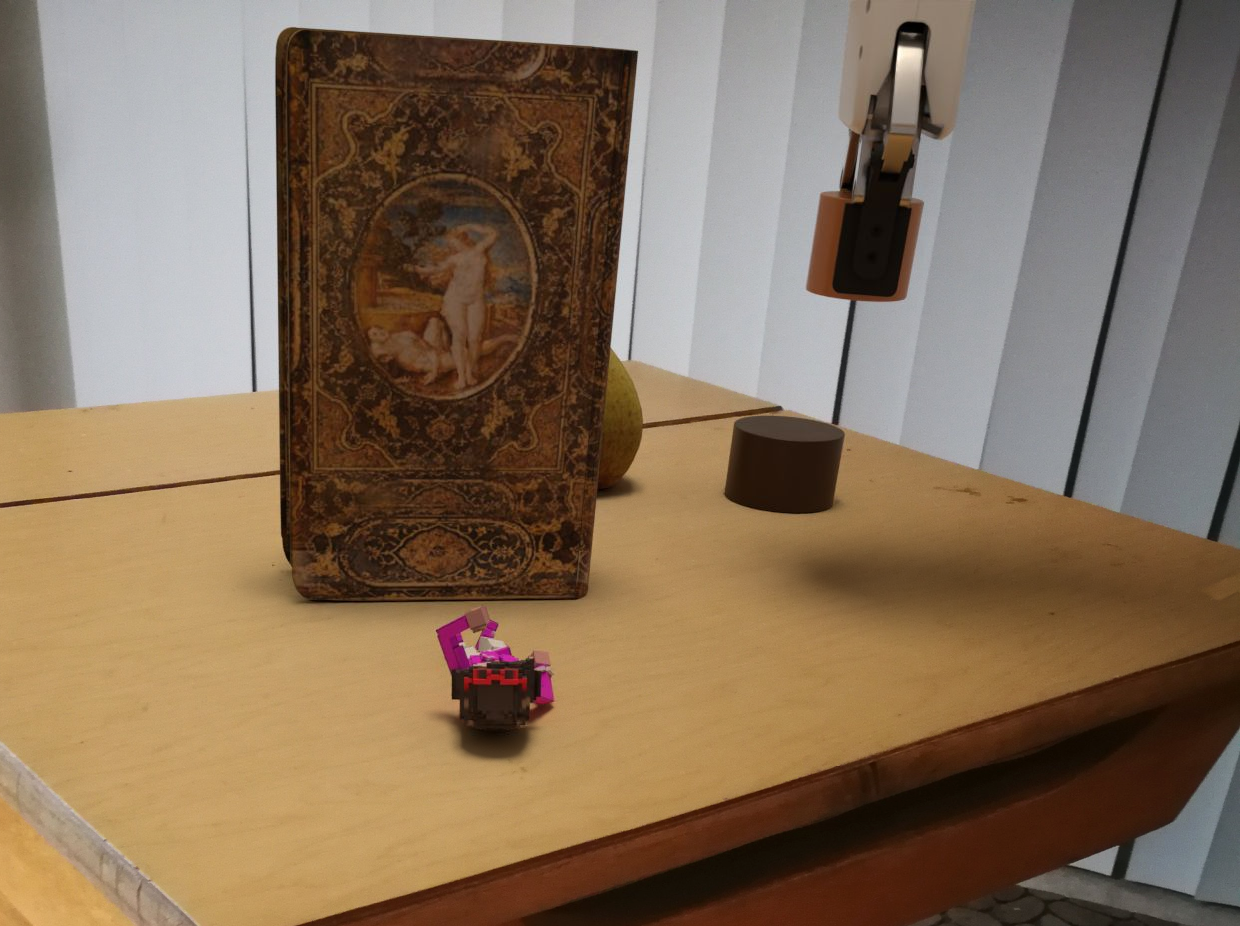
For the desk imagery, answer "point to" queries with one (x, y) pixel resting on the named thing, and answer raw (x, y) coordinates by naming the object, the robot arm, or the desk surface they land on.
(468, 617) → the character figurine
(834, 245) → the top cylinder
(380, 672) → the desk surface
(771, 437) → the cylinder
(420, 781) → the desk surface
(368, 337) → the book
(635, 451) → the fruit
